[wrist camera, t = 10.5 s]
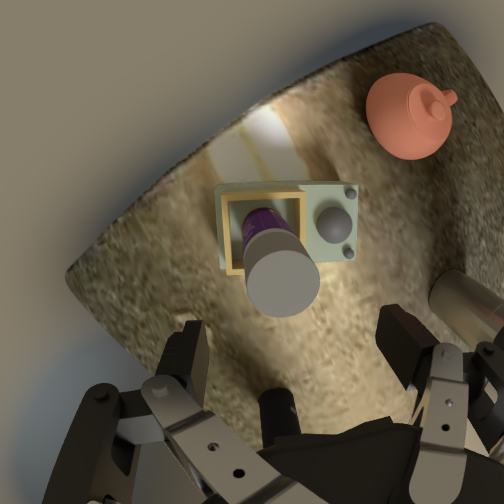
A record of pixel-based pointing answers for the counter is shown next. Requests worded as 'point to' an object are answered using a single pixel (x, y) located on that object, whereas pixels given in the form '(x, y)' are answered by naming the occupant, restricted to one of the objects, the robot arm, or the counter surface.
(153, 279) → the counter surface
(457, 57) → the counter surface
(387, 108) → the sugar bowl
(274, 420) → the wine bottle
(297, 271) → the container
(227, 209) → the grey-green box with tray
